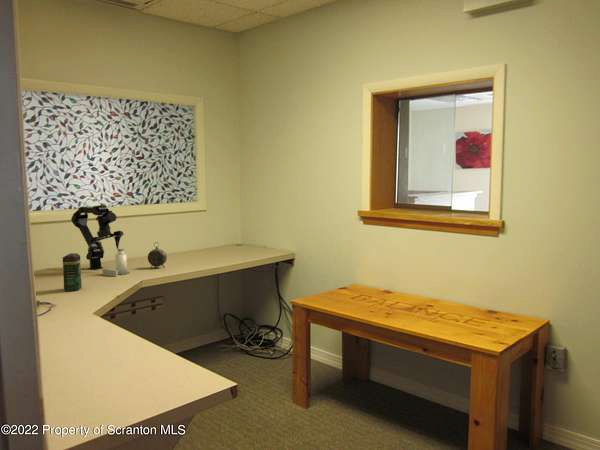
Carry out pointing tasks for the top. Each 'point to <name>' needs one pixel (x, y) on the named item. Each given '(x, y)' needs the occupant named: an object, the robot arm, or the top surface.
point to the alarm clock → (157, 257)
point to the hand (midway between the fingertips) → (110, 250)
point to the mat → (124, 273)
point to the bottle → (121, 262)
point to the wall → (110, 272)
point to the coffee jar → (72, 272)
